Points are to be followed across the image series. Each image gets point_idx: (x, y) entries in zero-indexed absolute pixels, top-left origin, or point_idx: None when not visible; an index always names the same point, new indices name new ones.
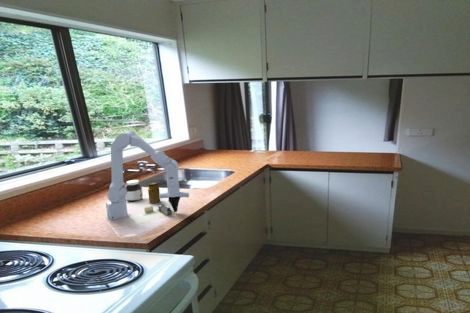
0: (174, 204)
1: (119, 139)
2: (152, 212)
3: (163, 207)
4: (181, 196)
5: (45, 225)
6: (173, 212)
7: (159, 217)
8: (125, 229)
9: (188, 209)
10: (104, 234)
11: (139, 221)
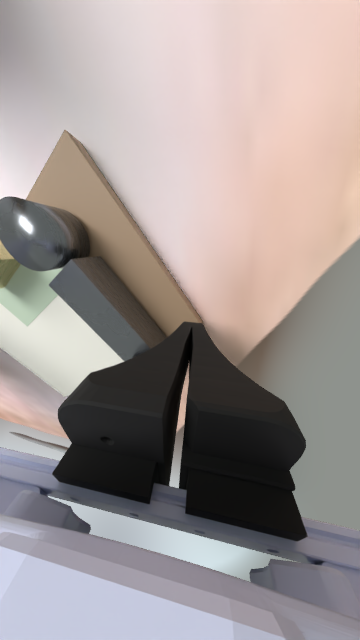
0: (181, 379)
1: None
2: (31, 277)
3: (80, 305)
4: (336, 562)
5: None
6: (173, 304)
7: (115, 358)
8: (47, 398)
9: (296, 193)
10: (17, 409)
11: (52, 377)
